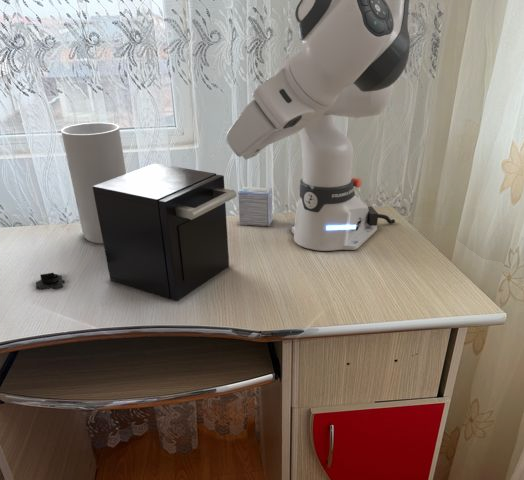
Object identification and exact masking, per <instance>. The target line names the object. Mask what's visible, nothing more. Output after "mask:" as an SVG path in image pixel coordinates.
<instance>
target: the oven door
mask: <svg viewBox="0 0 524 480" xmlns="http://www.w3.org/2000/svg"><path fill="white" fill-rule="evenodd" d="M235 198H237V191H236V190H235V189H230V188H229V189H228V188H225V176H224V175H222V174H217V175H215V176H213V177H211V178H209V179H206V180H204V181H202V182H200V183H197V184H195V185H193V186H191V187H188V188H186V189H184V190H182V191H179V192H177V193H175V194H173V195H170V196H168V197H166V198H164V199H161V200H159V201H158V202H159V210H160V217H161V225H162V233H163V241H164V248H165V256H166V264H167V271H168V279H169V287H170V295H171V299H170V300H172V301H176V302H179V301H180V300H182V299H183V298H184V297H186V296H187V295H190V293H192V292H194V291H195V290H197V289H198V288H199V287H201V286H202V285H204V284H206V283H207V282H208V281H210V280H212V279H213V278H214V277H215V276H217V275H219V274H221V273H222V272H224V271H225V270H226V269H228V268H230V256H229V243H228V241H229V240H228V223H227V208H226V203H227V202H229V201H231V200H233V199H235Z"/></svg>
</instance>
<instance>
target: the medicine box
mask: <svg viewBox="0 0 524 480" xmlns="http://www.w3.org/2000/svg"><path fill="white" fill-rule="evenodd" d="M237 197H238V222H239V225H241V226H242V225H244V226H259V227H260V226H261V227H270V226H271V224H272V222H273V189H272V188H271V187H256V186H242V187H241V188H240V189H239V190H238V192H237Z"/></svg>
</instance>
